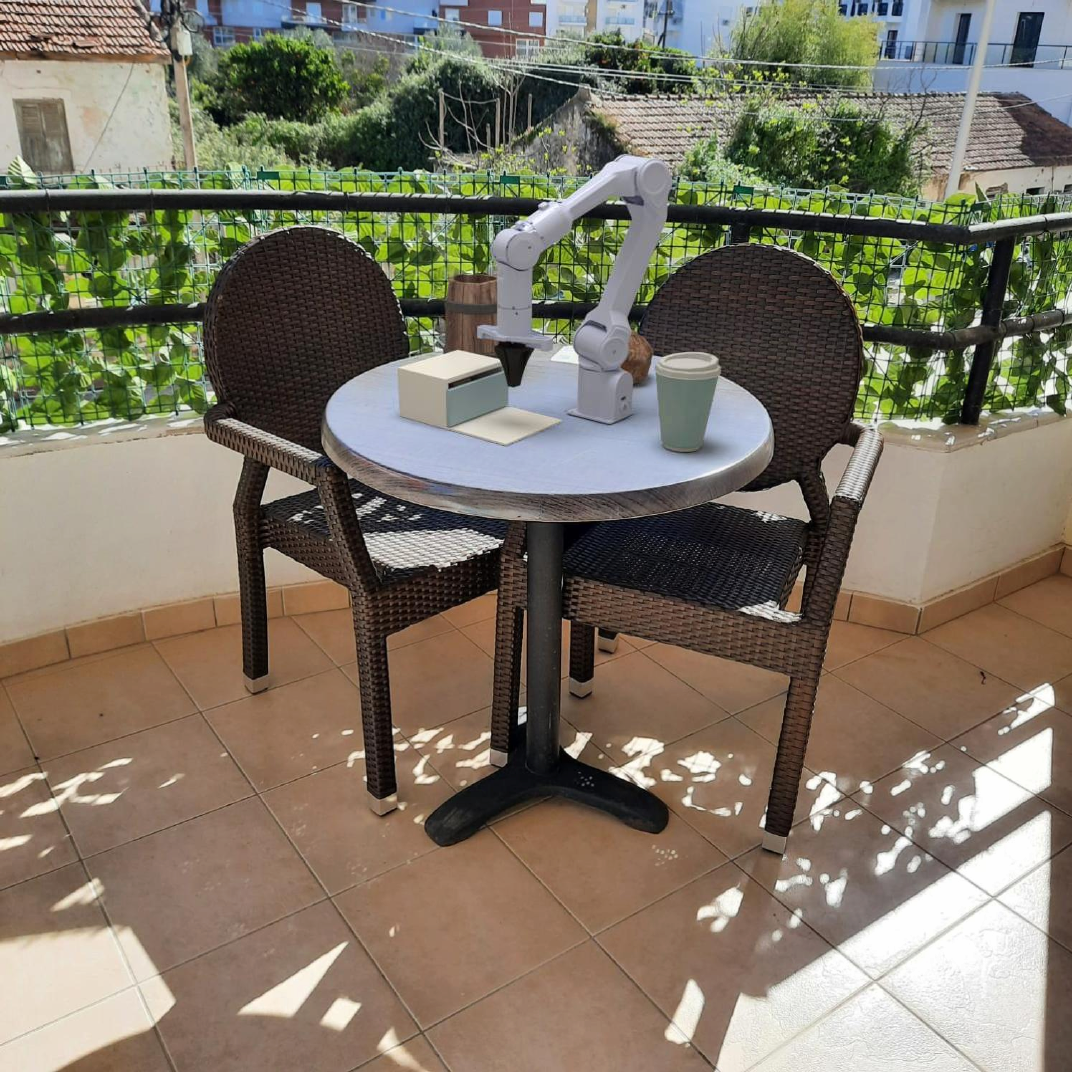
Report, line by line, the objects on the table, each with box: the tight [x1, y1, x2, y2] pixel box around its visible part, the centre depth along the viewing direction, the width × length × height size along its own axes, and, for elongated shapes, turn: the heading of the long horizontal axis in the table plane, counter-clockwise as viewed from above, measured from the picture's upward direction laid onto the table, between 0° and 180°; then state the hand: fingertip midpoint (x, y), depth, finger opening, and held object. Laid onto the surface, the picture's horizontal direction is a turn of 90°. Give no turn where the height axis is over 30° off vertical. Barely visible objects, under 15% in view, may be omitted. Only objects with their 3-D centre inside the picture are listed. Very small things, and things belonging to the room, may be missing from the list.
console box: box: [397, 350, 563, 447], centre depth 169 cm, size 24×16×9 cm, turn 53°
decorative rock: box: [621, 329, 654, 384], centre depth 194 cm, size 13×11×10 cm
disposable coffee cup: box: [654, 351, 722, 453], centre depth 158 cm, size 11×11×15 cm
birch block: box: [448, 377, 471, 389], centre depth 173 cm, size 4×4×5 cm
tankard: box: [442, 273, 510, 388], centre depth 192 cm, size 24×17×20 cm
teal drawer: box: [446, 371, 509, 427], centre depth 172 cm, size 11×16×6 cm
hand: (514, 385), depth 165 cm, fingers closed
